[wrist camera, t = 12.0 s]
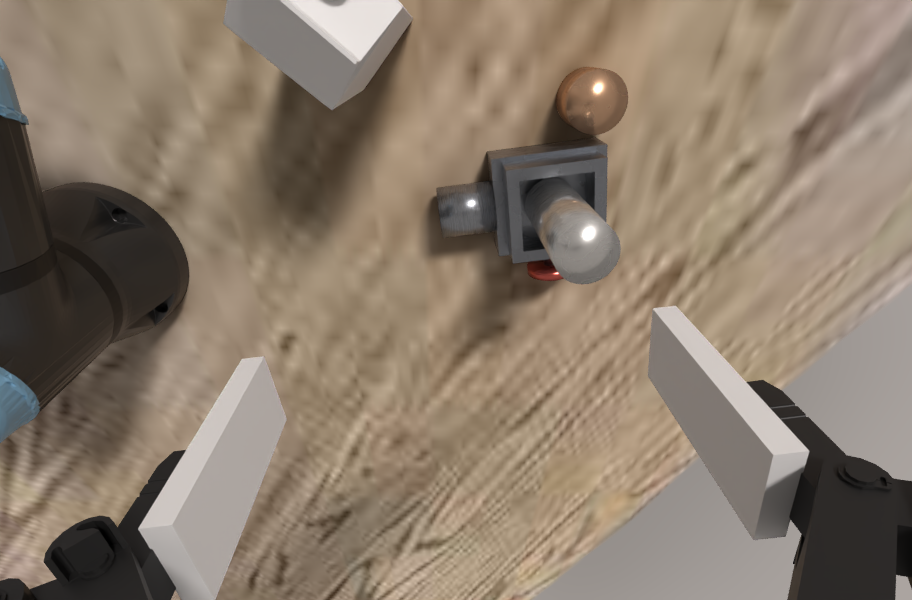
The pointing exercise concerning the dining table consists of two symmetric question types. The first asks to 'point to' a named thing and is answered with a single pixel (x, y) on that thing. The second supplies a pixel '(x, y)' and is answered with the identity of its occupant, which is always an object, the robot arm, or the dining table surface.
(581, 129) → the glossy bronze sphere
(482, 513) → the dining table surface
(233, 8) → the milk carton
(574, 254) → the silver rounded cylinder
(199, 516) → the robot arm
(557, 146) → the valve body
